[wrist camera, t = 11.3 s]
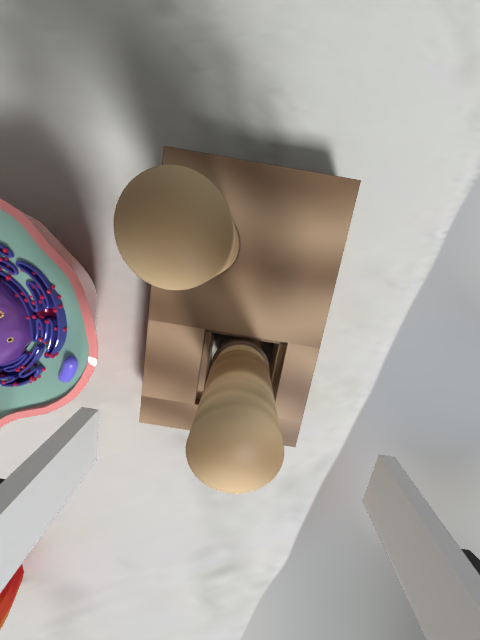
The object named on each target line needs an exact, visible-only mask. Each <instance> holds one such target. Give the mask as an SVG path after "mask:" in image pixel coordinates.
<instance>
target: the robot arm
mask: <svg viewBox="0 0 480 640" xmlns="http://www.w3.org/2000/svg"><path fill="white" fill-rule="evenodd" d="M98 414H99V410H97V409H91V408H84V407H82V408H81V409H80V410H78V411H77V412H76V413H75V414H74V415H73V416H72V417H71V418H70V419H69V420H68V421H67V422H66V423H65V424H64V425H63V426H61V427H60V428H59V429H58V430H57V431H56V432H55V433H54V434H53V435H52V436H51V437H50V438H49V439H48V440H47V441H46V442H45V443H43V444H42V445H41V446H40V447H39V448H38V449H37V450H36V451H35V452H34V453H33V454H32V455H31V456H30V457H29V458H28V459H27V460H25V461H24V462H23V463H22V464H21V465H20V466H19V467H18V468H17V469H16V470H15V471H14V472H13V473H12V474H11V475H10V476H9V477H7V478H6V479H0V593H1V592H2V590H3V589H4V587H5V586H6V585H7V583H8V582H9V580H10V579H11V578H12V576H13V575H14V574H15V572H16V571H17V569H18V568H19V567H20V565H21V564H22V562H23V561H24V560H25V558H26V557H27V556H28V554H29V553H30V551H31V550H32V549H33V547H34V546H35V544H36V543H37V542H38V540H39V539H40V538H41V536H42V535H43V533H44V532H45V531H46V529H47V528H48V526H49V525H50V524H51V522H52V521H53V520H54V518H55V517H56V515H57V514H58V513H59V511H60V510H61V508H62V507H63V506H64V504H65V503H66V502H67V500H68V499H69V497H70V496H71V495H72V493H73V492H74V490H75V489H76V488H77V486H78V485H79V484H80V482H81V481H82V479H83V478H84V477H85V475H86V474H87V472H88V471H89V470H90V468H91V467H92V466H93V464H94V463H95V461H96V460H97V443H98ZM363 503H364V505H365V507H366V510H367V511H368V514H369V516H370V518H371V520H372V522H373V525H374V527H375V529H376V531H377V533H378V535H379V538H380V540H381V542H382V544H383V546H384V548H385V551H386V553H387V555H388V557H389V559H390V562H391V564H392V566H393V568H394V570H395V573H396V575H397V577H398V579H399V581H400V583H401V585H402V588H403V590H404V592H405V594H406V596H407V599H408V601H409V603H410V605H411V607H412V609H413V611H414V614H415V616H416V618H417V620H418V622H419V624H420V627H421V629H422V631H423V633H424V635H425V638H426V640H480V560H479V559H478V558H477V557H476V556H475V555H474V554H473V553H472V552H471V551H469V550H465V549H461V548H460V547H459V546H458V544H457V543H456V541H455V540H454V539H453V537H452V536H451V534H450V533H449V532H448V530H447V529H446V528H445V526H444V525H443V523H442V522H441V521H440V519H439V518H438V516H437V515H436V514H435V512H434V511H433V509H432V508H431V507H430V505H429V504H428V502H427V501H426V500H425V498H424V497H423V495H422V494H421V493H420V491H419V490H418V488H417V487H416V486H415V485H414V483H413V481H412V480H411V479H410V477H409V476H408V475H407V473H406V472H405V470H404V469H403V468H402V466H401V465H400V463H399V462H398V461H397V459H396V458H395V457H391V456H385V455H379V456H378V458H377V461H376V464H375V467H374V470H373V473H372V476H371V478H370V481H369V484H368V487H367V490H366V493H365V495H364V498H363Z"/></svg>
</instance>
